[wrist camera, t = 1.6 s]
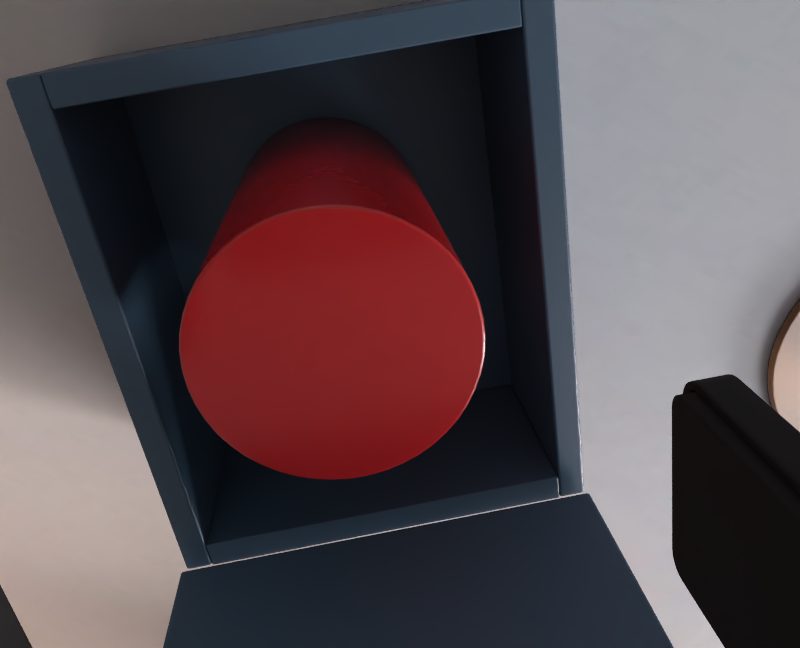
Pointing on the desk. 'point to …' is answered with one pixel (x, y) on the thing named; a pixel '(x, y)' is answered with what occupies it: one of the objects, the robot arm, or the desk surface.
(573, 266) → the desk surface
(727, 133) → the desk surface
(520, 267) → the blue rectangular box
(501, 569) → the lid
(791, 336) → the coaster
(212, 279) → the can
